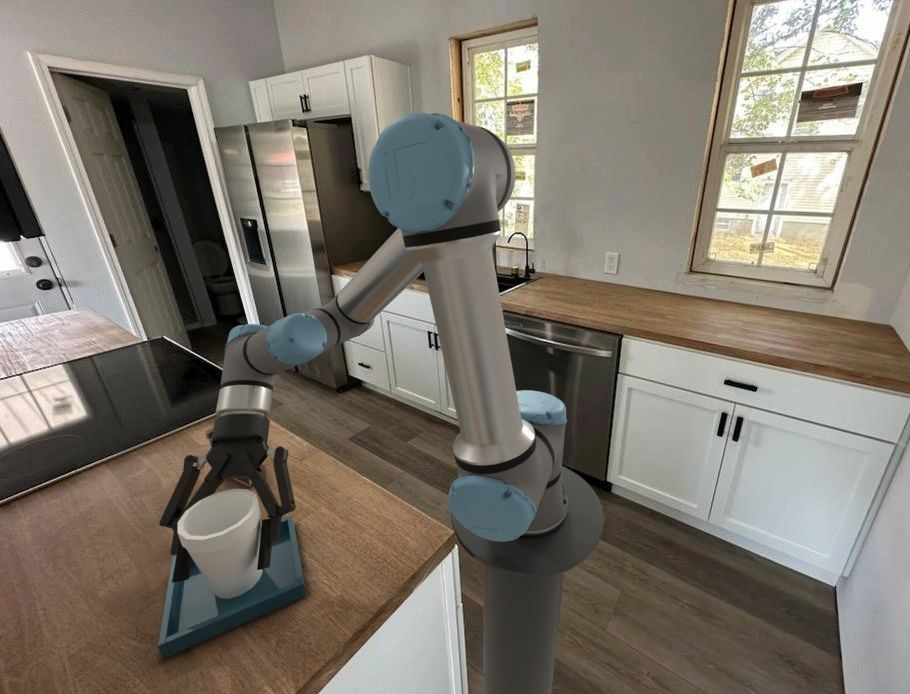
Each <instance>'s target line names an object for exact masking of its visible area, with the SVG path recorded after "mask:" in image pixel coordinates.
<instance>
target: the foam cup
mask: <svg viewBox="0 0 910 694" xmlns="http://www.w3.org/2000/svg"><path fill="white" fill-rule="evenodd" d="M261 517H262V513H261V508H260V504H259V500H258V494H257V493H255V492H254V491H251V490H249V489H248V488H230V489H226V490H221V491H216V492H215V493H214V494H213V495H210V496H208V497H206V498H204V499H202V500H200V501H198V502H197V503H196V504H194V505H193V506H192V507H190V508H189V509H188V510H186V511H185V513H184V514H183V516H182V517H181V518H180V520H179V521H178V535H179V538H180V541H181V544H182V546H183V547H184V548H186V549H187V551H188V552H189V554H190V556H191V557H192V559H193V560H194V562H195V564H196V565H197V567H198V568H199V570H200V572H201V573H202V575H203V577H204V578H205V580H206V581H207V583H208V585H209V586H210V588H211V589H212V591H213V592H214V594H215V595H217V596H218V597H219V598H227V599H230V598H233V597H237V596H240V595H242V594H244V593H245V592H247V591H248V590H250V589H251V588H252V587H253V586H254V585H255V584H256V583H257V582H258V581H259V580H260V577H261V575H262V572H263V570H262V569H261V570H257V566H258V556H259V546H260V537H261V529H260V526H261Z"/></svg>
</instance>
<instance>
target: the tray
mask: <svg viewBox="0 0 910 694" xmlns="http://www.w3.org/2000/svg"><path fill="white" fill-rule="evenodd" d="M261 527H262V525H260V529H261ZM297 537H298V536H297V532H296V527H295V521H294V516H293V514H291V515H289V516H285V517H282V518H281V527H280V537H279V539H278V541H273V542H272V550H271V561H270V567H269V568H265V569H262V570H263V572H262V575H261V577H260V580H259V581H258V582H257V583H256V584H255V585H254V586H253V587H252V588H251V589H250V590H248V591H247V592H245V593H244V594H242V595H240V596H237V597H233V598H230V599H227V598H219V597H218V596H217V595H215V594H214V592H213V591H212V589H211V588H210V586H209V585H208V583H207V581H206V580H205V578H204V577H203V575H202V573H201V572H200V570H199V568H198V567H197V565H196V564H195V562H194V560H193V559H192V563H191V569H190V576H189V579H188V580H184V581H179V582H173V583H172V579H173V573H174V567H175V561H176V556H177V555H172V557H171V562H170V568H169V575H168V579H167V580H168V581H167V587H166V591H165V592H166V593H165V598H164V605H163V611H162V617H161V623H160V629H159V635H158V640H157V641H158V642H157V648H158V651H159V653H160V655H161V659H162V660H164V659H167V658H168V657H172V656H174V655H176V654H178V653H180V652H182V651H185V650H187V649H189V648H192V647H193V646H195V645H198V644H201V643H203V642H205V641H207V640H209V639H211V638H214V637H216V636H218V635H221V634H224V633H226V632H227V631H229V630H232V629H234V628H236V627H238V626H242V625H243V624H245V623H248V622H250V621H253V620H254V619H256V618H259V617H261V616H264V615H266V614H268V613H270V612H273V611H275V610H277V609H280V608H282V607H285V606H286V605H289V604H290V603H293V602H295V601H298V600H300V599H302V598H304V597H306V596H307V593H306V587H305V581H304V575H303V568H302V563H301V556H300V550H299V543H298V538H297Z"/></svg>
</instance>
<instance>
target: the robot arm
mask: <svg viewBox="0 0 910 694" xmlns="http://www.w3.org/2000/svg"><path fill="white" fill-rule="evenodd" d="M371 149H372V150H371V153H370V156H369V160H368V161H369V162H368V167H367V173H368V174H367V179H368V180H367V181H368V187H369V192H370V195H371V198H372V201H373V203H374V205H375V207H376V208H377V210H378V212H379V213H380V214H381V216H382V217H385V218H386V219H387V220H388V222H389V223H390V224H391V225H392V226H394V227H396V228H397V229H396V230H395V231H394V232H393V233H392V234H391V235H390V236H389V238H388V239H387V240H386V241H385V242H384V243H383V244H382V245H381V246H380V247H379V248H378V249H377V251H376V252H374V253H373V255H372V256H371V257H370V258H369V259H368V260H367V261H366V262H365V263H364V264H363V266H361V268H360V269H359V270H358V271H357V272H356V274H355V275H353V276H352V278H351V279H350V280H349V281H348V282H347V283H346V284H345V285H344V286H343V287H342V288H341V290H340V291H339V292H338V293H337V294H336V295H335V296H334V297H333V298H332V299H331V300H330V301H329V302H328V303H327V304H324V305H321V306H318V307H315V308H313V309H311V310H307V311H305V312H295V313H292V314H290V315H287V316H285V317H282V318H281V317H280V318H278V319H277V320H275V322H274V323H272V324H270V325H268V326H267V325H263V324H259V323H258V324H257V323H247V324H245V325H243V324H240V325H237V326H234V327H233V328H232V329H230V331H229V333H228V337H227V342H226V343H225V346H224V358H223V366H222V371H221V372H222V374H221V380H220V385H219V393H218V398H217V403H216V408H215V415H216V417H217V418H215V419H214V421H213V427H214V428H213V427H212V428H213V434H212V446H211V445H210V449H209V450H208V451H207V453H205V454H199V455H193V454H188V455H186V456H185V457H184V460H183V468H182V469H183V470H182V472H181V475H180V477H179V479H178V481H177V483H176V486H175V488H174V490H173V492H172V494H171V497H170V499H169V501H168V503H167V505H166V507H165V509H164V511H163V513H162V516H161V518H160V520H159V523H158V524H159V526H160V527H162V528H163V527H164V528H169V529H171V530H172V531H173V534H172V541H171V547H170V555H171V556H176V555H177V556H176V561H175V567H174V573H173V579H172V583H173V582H179V581H184V580H188V579H189V576H190V569H191V563H192V557H191V556H190V554H189V552H188V551H187V549H186V548H184V547H183V546H182V544H181V541H180V538H179V535H178V521H179V520H180V518H181V517H182V516H183V514H184V513H185V511H186V510H188V509H189V508H190V507H192V506H193V505H194V504H196V503H197V502H198V501H200V500H202V499H204V498H206V497H208V496H210V495H213V494H215V493H216V492H217V490H218V488H219V487H220V486H221V485H222V484H223V483H224V482H225V481H226V480H234V479H233V478H236V477H248V478H249V479H250V480H251V482H252V484H253V486H252V487H253V488H254V490H255V492H256V495H257V497H259V500H260V502H261V503H262V506H263V507H264V510H265V511H266V514H267V515H266V517H267V518H263V519H262V520H261V526H262V527H261V537H260V546H259V556H258V566H257V570H261V569H265V568H269V567H270V561H271V550H272V542H273V541H278V539H279V537H280V527H281V519H283V518H284V516H285V515H287V514H289V513H291V512H294V511H295V510H296V508H297V505H296V501H295V496H294V492H293V491H294V490H293V486H292V483H291V482H292V481H291V477H290V472H289V468H288V467H289V466H288V458H289V450H288V449H287V448H285V447H283V446H277V447H276V448H275V447H273V448H270V447H269V444H268V440H269V432H270V425H271V424H270V423H271V420H270V418H269V416H271V413H272V404H273V403H272V402H273V396H274V395H273V394H274V384H275V378H276V375H278V374H281V373H282V372H284V371H286V370H289V369H291V368H294V367H296V366H299V365H303V364H306V363H307V362H309V361H312V360H314V359H315V358H316V357H318V356H320V355H321V354H323V353H325V352H328V351H329V350H331V349H333V348H335V347H337V346H339V345H341V344H344V343H346V342H348V341H349V340H351V339H354V338H357V337H360V336H361V335H363V334H364V333H365V332H367V331H368V330H370V329H371V328H372V327H373V326H374V323H375V319H376V317H377V316H378V315H379V314H380V313H381V312H382V311H383V310H384V309H386V308H387V307H388V306H389V305H390V304H391V303H392V302H393V301H394V300H395V299H396V298H397V297H398V296H400V295H401V293H402V292H404V291H405V290H406V288H408V287H409V286H410V285H412V283H413V282H414V281H415V280H417V278H418V277H419V276H420V275H422V274H423V275H424V279H425V282H426V286H427V292H428V297H429V301H430V305H431V310H432V314H433V317H434V322H435V326H436V331H437V335H438V340H439V344H440V348H441V353H442V357H443V362H444V366H445V370H446V373H447V374H446V375H447V379H448V384H449V388H450V393H451V398H452V401H453V405H454V410H455V414H456V415H455V416H456V418H457V422H458V423H457V424H458V427H459V431H460V432H459V433H458V434H457V435H456V437H455V438H454V439H453V443H452V452H453V457H454V460H455V465H456V469H457V478H456V479H454V480H453V482H452V483H451V485H450V489H449V491H448V495H447V500H448V501H447V502H448V507H449V509H450V512H451V511H452V513H453V515H454V516H455V518H456V519H457V520H458V521H459V522H460V523H461V524H462V525H463V526H464V527H465V528H467V529H469V530H470V531H471V532H472V533H474V534H476V535H478V536H480V537H482V538H485V539H488V540H492V541H500V542H504V541H511V540H515V539H517V538H526V539H533V538H541V537H544V536H547V535H550V534H552V533H554V532H555V531H557V530H558V529H559V528H560V527H561V526H562V525H563V523H564V522H565V520H566V517H567V513H568V498H567V494H566V490H565V487H564V484H563V480H562V477H561V468H562V466H563V456H564V445H565V433H566V424H567V423H568V419H567V408H566V405H565V403H564V402H563V401H562V400H560V399H559V398H558V397H556V396H554V395H553V394H549V393H547V392H543V391H537V390H528V389H527V390H525V389H523V390H522V389H521V390H517V388H516V387H517V386H516V382H515V375H514V370H513V365H512V364H513V363H512V360H511V359H512V358H511V353H510V348H509V342H508V336H507V329H506V325H505V324H506V323H505V318H504V313H503V309H502V307H503V306H502V301H501V296H500V291H499V285H498V279H497V273H496V269H495V268H496V267H495V261H494V255H493V247H494V245H495V243H496V242H497V241H498V239H499V238H500V236H501V235H502V228H501V223H500V222H501V221H500V217H499V212H501V210H503V209H504V207H505V206H506V205H507V204H508V202H509V200H510V199H511V197H512V195H513V192H514V189H515V185H516V180H517V179H516V177H517V176H516V165H515V161H514V158H513V154H512V153H511V151H510V149H509V148H508V145H507V144H506V143H505V142H504V141H503V139H501V137H500V136H499V135H497V134H496V133H494V132H492V131H491V130H490V129H487V128H485V127H482V126H479V125H473V124H469V123H467V122H463V121H460V120H456V119H454V118H453V117H451V116H448V115H446V114H443V113H436V112H434V113H427V112H412V113H406V114H404V115H400V116H399V117H397V118H395V119H394V120H393V121H391V122H390V123H388V125H386V127H384V129H383V130H382V131H381V132H380V134H379V135H378V139H377V141H376V144H374V145H373V146H372V148H371ZM268 457H269V460H270V462H273V470H274V474H275V475H274V476H275V480H276V486H277V490H278V496H279V500H280V504H279V501H278V500H277V498H276V496H275V494H274V492H273V490H272V487H271V486H270V484H269V482H268V480H267V478H266V475H265V473H264V470H263V471H262V469H263V468H262V469H261V467H260V465H261V464H262V465H263V463H264V462H266V460H267V458H268ZM206 464H208V465H209V466H210V468H211V469H210V470H209V471H208V472H207V474H206V476H204V479H203V480H204V481H203V482H202V484H201V485H200V486H199V487H198V489H197V490H196V492H195V493H194V495H193V496H192V494H193V491H194V489H195V486H196V485H197V482H198V479H199V478H200V475H201V472H202V471H201V470H203V469H204V468H205V467H206V466H205V465H206ZM191 496H192V498H191ZM190 498H191V499H190Z"/></svg>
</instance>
